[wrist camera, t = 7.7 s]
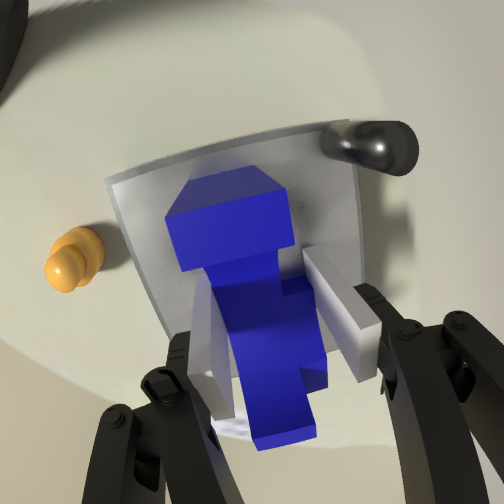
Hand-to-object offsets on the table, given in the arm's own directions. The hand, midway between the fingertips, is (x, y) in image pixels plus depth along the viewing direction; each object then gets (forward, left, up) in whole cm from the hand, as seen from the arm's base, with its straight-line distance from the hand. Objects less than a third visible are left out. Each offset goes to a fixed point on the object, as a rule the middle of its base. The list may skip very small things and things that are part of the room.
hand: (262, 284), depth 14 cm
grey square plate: (0, 0, -4) cm, 4 cm away
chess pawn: (-3, -11, -4) cm, 12 cm away
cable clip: (0, 0, -1) cm, 1 cm away
